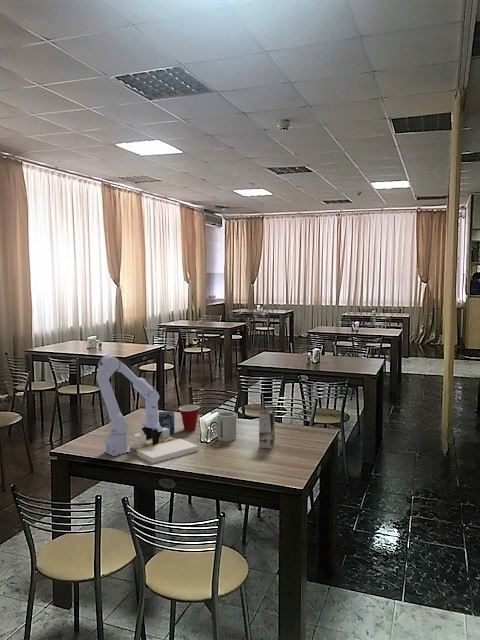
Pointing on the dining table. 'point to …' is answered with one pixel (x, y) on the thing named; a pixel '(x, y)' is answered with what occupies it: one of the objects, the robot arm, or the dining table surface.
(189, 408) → the plastic cup
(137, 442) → the crate
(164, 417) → the box
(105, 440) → the robot arm
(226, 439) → the cup
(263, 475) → the dining table surface
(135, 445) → the pallet
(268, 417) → the coffee box
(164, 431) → the block
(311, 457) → the dining table surface
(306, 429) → the dining table surface
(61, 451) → the dining table surface
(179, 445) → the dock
